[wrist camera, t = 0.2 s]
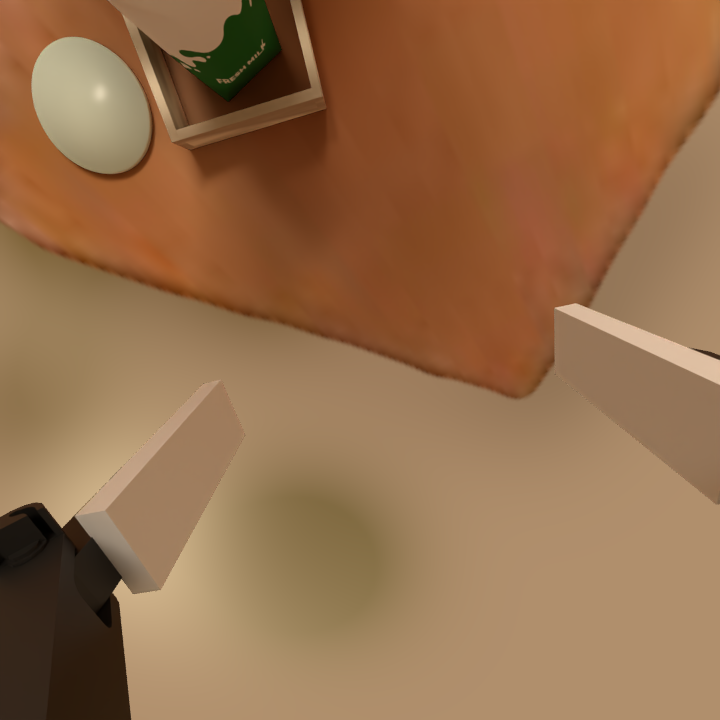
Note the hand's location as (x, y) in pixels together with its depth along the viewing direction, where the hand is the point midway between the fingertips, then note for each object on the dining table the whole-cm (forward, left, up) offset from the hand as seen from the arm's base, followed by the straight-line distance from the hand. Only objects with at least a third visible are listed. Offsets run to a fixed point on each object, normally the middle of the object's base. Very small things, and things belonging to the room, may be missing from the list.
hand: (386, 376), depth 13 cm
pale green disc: (-22, -23, -28) cm, 42 cm away
